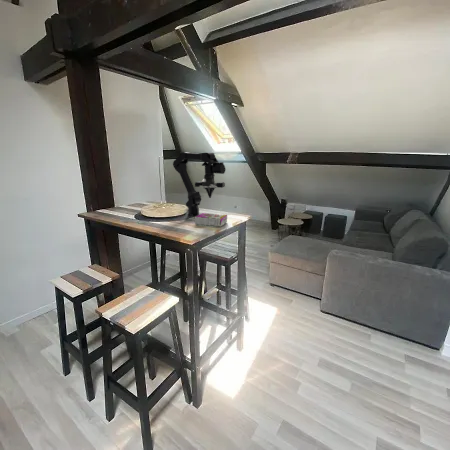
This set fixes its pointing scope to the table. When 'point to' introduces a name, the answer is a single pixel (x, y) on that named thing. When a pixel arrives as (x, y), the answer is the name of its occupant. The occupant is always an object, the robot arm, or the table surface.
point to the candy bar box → (211, 219)
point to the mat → (206, 225)
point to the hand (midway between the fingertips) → (210, 197)
